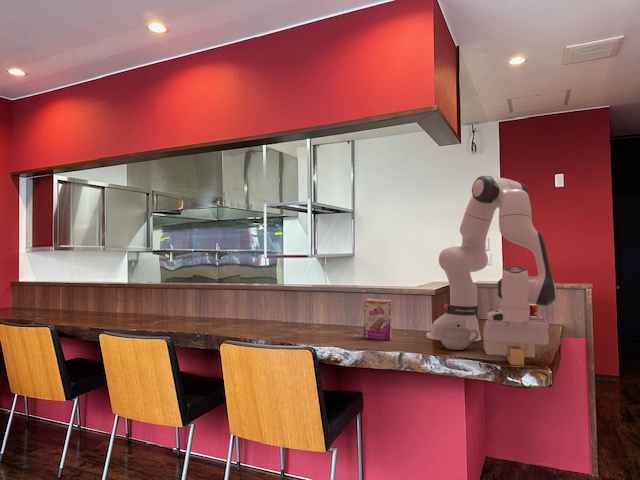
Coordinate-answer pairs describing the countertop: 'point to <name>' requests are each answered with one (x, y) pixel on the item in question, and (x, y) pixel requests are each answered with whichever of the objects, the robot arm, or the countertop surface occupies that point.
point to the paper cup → (533, 309)
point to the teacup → (457, 337)
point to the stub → (515, 355)
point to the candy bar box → (378, 319)
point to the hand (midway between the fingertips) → (515, 356)
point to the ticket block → (496, 348)
